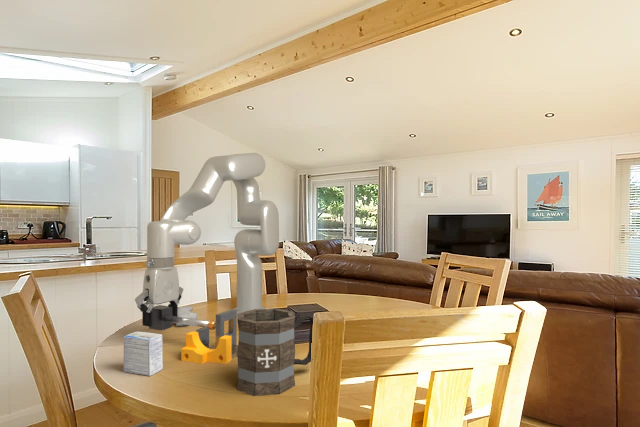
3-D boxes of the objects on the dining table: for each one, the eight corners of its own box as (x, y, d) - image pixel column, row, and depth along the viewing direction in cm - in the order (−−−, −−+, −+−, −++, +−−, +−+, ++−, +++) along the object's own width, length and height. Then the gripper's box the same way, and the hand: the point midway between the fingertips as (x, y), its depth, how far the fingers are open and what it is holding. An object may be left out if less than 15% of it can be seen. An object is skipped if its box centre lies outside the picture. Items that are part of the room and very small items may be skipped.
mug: (249, 402, 81) (249, 326, 81) (226, 378, 92) (226, 312, 92) (331, 380, 91) (331, 314, 91) (301, 362, 103) (301, 303, 103)
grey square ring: (191, 352, 110) (191, 311, 110) (208, 344, 116) (208, 306, 116) (230, 359, 104) (230, 316, 104) (246, 351, 111) (246, 310, 111)
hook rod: (148, 328, 118) (149, 307, 118) (159, 325, 122) (159, 305, 122) (211, 338, 109) (211, 316, 109) (220, 334, 112) (220, 312, 112)
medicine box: (163, 370, 97) (163, 333, 97) (149, 377, 93) (150, 339, 93) (137, 365, 100) (137, 330, 100) (122, 372, 96) (122, 335, 96)
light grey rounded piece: (167, 317, 132) (167, 302, 146) (167, 332, 132) (167, 315, 146) (198, 314, 135) (195, 300, 149) (198, 329, 136) (195, 313, 149)
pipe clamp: (181, 361, 103) (181, 335, 103) (192, 355, 108) (192, 331, 108) (221, 367, 99) (221, 341, 99) (231, 361, 104) (231, 335, 104)
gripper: (146, 267, 109) (146, 331, 109) (191, 260, 125) (191, 316, 125) (126, 265, 112) (126, 327, 112) (172, 259, 128) (172, 313, 128)
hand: (160, 321), depth 119 cm, fingers open, 9 cm apart
